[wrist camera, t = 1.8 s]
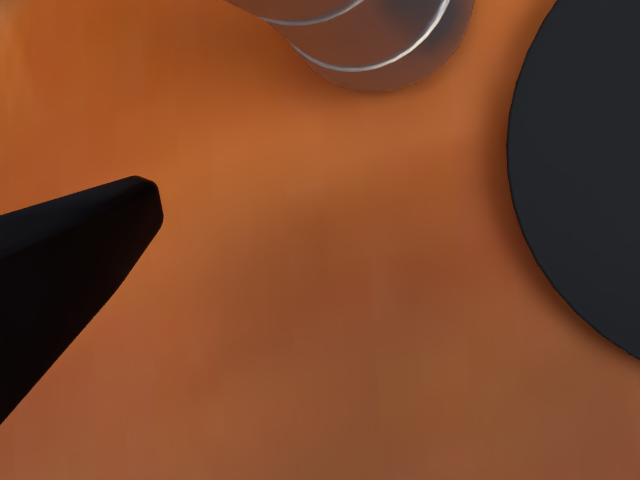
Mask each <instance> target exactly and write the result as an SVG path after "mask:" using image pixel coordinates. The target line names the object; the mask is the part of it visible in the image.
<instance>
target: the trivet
mask: <svg viewBox="0 0 640 480" xmlns="http://www.w3.org/2000/svg"><path fill="white" fill-rule="evenodd" d="M506 148H507V169H508V180H509V185H510V190H511V196H512V201H513V206H514V209H515V212H516V215H517V218H518V221H519V224H520V227H521V230H522V233H523V236H524V238H525V240H526V242H527V244H528V246H529V248H530V250H531V252H532V254H533V256H534V258H535V260H536V262H537V264H538V265H539V267H540V268H541V269H542V271H543V272H544V274H545V275H546V277H547V278H548V280H549V281H550V283H551V284H552V286H553V287H554V289H555V290H556V291H557V292H558V293H559V294H560V295H561V297H562V298H563V299H564V300H565V301H566V302H567V303H568V304H569V306H570V307H571V308H572V309H573V310H574V311H575V312H576V313H577V314H578V315H579V316H580V317H581V318H582V319H583V320H585V321H586V322H587V323H588V324H589V325H590V326H591V327H593V328H594V329H595V330H596V331H597V332H598V333H599V334H601V335H602V336H603V337H605V338H606V339H608V340H609V341H611V342H612V343H614V344H615V345H617V346H618V347H619V348H621V349H622V350H624V351H625V352H627V353H628V354H630V355H631V356H633V357H635V358H637V359H639V360H640V0H557V1H556V3H555V4H554V6H553V7H552V9H551V10H550V12H549V13H548V15H547V16H546V17H545V19H544V21H543V22H542V24H541V26H540V28H539V30H538V32H537V34H536V36H535V38H534V40H533V42H532V44H531V46H530V48H529V50H528V52H527V55H526V57H525V60H524V63H523V66H522V68H521V71H520V74H519V76H518V79H517V82H516V86H515V90H514V95H513V99H512V104H511V108H510V112H509V122H508V133H507V144H506Z"/></svg>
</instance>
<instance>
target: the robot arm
mask: <svg viewBox="0 0 640 480" xmlns="http://www.w3.org/2000/svg"><path fill="white" fill-rule="evenodd" d="M163 217H164V216H163V210H162V205H161V200H160V195H159V190H158V187H157V185H156V184H155V183H154V182H153V181H150V180H148V179H145V178H143V177H140V176H130V177H127V178H123V179H120V180H117V181H113V182H110V183H107V184H103V185H100V186H97V187H93V188H90V189H87V190H83V191H80V192H77V193H73V194H70V195H67V196H63V197H60V198H57V199H53V200H50V201H47V202H43V203H40V204H37V205H33V206H30V207H27V208H23V209H20V210H17V211H13V212H10V213H7V214H3V215H0V425H1V424H2V422H3V421H4V420H5V419H6V418H7V417H8V415H9V414H10V413H11V412H12V411H13V410H14V409H15V407H16V406H17V405H18V404H19V403H20V402H21V400H22V399H23V398H24V397H25V396H26V395H27V394H28V392H29V391H30V390H31V389H32V388H33V387H34V385H35V384H36V383H37V382H38V381H39V380H40V379H41V377H42V376H43V375H44V374H45V373H46V372H47V370H48V369H49V368H50V367H51V366H52V365H53V364H54V362H55V361H56V360H57V359H58V358H59V357H60V355H61V354H62V353H63V352H64V351H65V350H66V349H67V347H68V346H69V345H70V344H71V343H72V342H73V340H74V339H75V338H76V337H77V336H78V335H79V334H80V332H81V331H82V330H83V329H84V328H85V327H86V325H87V324H88V323H89V322H90V321H91V320H92V319H93V317H94V316H95V315H96V314H97V313H98V312H99V310H100V309H101V308H102V307H103V306H104V305H105V304H106V302H107V301H108V300H109V299H110V298H111V296H112V295H113V294H114V293H115V292H116V290H117V289H118V288H119V286H120V285H121V284H122V282H123V281H124V280H125V278H126V277H127V275H128V274H129V272H130V271H131V269H132V268H133V267H134V265H135V264H136V262H137V261H138V259H139V258H140V257H141V255H142V254H143V252H144V251H145V249H146V248H147V247H148V245H149V244H150V242H151V241H152V239H153V238H154V237H155V235H156V234H157V232H158V231H159V229H160V228H161V225H162V223H163Z"/></svg>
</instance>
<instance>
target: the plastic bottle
mask: <svg viewBox="0 0 640 480" xmlns="http://www.w3.org/2000/svg"><path fill="white" fill-rule="evenodd" d="M224 1H226V2H228V3H230V4H232V5H234V6H236V7H238V8H240V9H242V10H244V11H246V12H249V13H250V14H252V15H254V16H256V17H259V18H261V19H263V20H265V21H266V22H267V23H268V24H270V25H271V26H272V27H273V28H274V29H275V30H277V31H278V32H279V33H280V34H281V35H283V36H284V37H285V38H286V39H287V40H288V41H289V43H290V44H291V46H292V47H293V48H294V50H295V51H296V52H297V53H298V54H299V56H300V57H301V58H302V59H303V60H304V61H305V62H306V63H307V64H308V65H309V66H310V67H311V68H312V69H313V70H314V71H316V72H317V73H318V74H319V75H321V76H322V77H323V78H324V79H326V80H328V81H330V82H332V83H334V84H336V85H338V86H340V87H343V88H347V89H351V90H355V91H370V92H385V91H391V90H397V89H402V88H405V87H408V86H410V85H413V84H416V83H418V82H420V81H421V80H423V79H425V78H426V77H428V76H430V75H432V74H433V73H434V72H435V71H436V70H437V69H439V68H440V67H441V66H442V65H443V64H444V63H445V62H446V61H447V60H448V59H449V58H450V56H451V55H452V54H453V53H454V51H455V50H456V49H457V47H458V45H459V43H460V42H461V40H462V38H463V36H464V34H465V32H466V29H467V26H468V23H469V20H470V17H471V13H472V8H473V3H474V0H224Z"/></svg>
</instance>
